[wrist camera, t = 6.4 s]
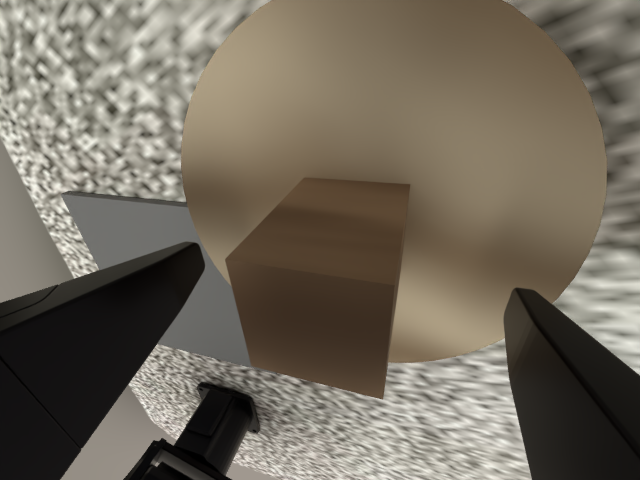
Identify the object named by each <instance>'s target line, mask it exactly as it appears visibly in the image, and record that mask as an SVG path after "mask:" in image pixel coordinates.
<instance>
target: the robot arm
mask: <svg viewBox="0 0 640 480" xmlns="http://www.w3.org/2000/svg"><path fill="white" fill-rule="evenodd" d="M204 270H205V261H204V258H203V254H202V251H201V247H200V245H199V244H198V243H195V242H188V241H185V242H182V243H179V244H176V245H173V246H170V247H167V248H164V249H161V250H158V251H155V252H152V253H149V254H146V255H143V256H140V257H137V258H134V259H131V260H129V261H126V262H123V263H120V264H117V265H114V266H111V267H108V268H105V269H102V270H99V271H96V272H93V273H90V274H87V275H84V276H81V277H78V278H75V279H72V280H69V281H67V282H64V283H61V284H60V285H55V286H51V287H48V288H45V289H42V290H39V291H37V292H33V293H30V294H27V295H24V296H22V297H18V298H15V299H12V300H8V301H5V302H2V303H0V480H60V479H61V478H62V476H63V475H64V474H65V472H66V471H67V470H68V468H69V467H70V465H71V464H72V463H73V461H74V460H75V458H76V457H77V455H78V454H79V453H80V451H81V448H83V447H84V445H85V444H86V443H87V441H88V440H89V438H90V437H91V435H92V434H93V433H94V431H95V430H96V429H97V427H98V426H99V424H100V423H101V421H102V420H103V419H104V417H105V416H106V414H107V413H108V412H109V410H110V409H111V408H112V406H113V405H114V403H115V402H116V401H117V399H118V398H119V396H120V395H121V394H122V392H123V391H124V390H125V388H126V387H127V385H128V384H129V383H130V381H131V380H132V378H133V377H134V376H135V374H136V373H137V371H138V370H139V369H140V367H141V366H142V364H143V363H144V362H145V360H146V359H147V357H148V356H149V355H150V353H151V352H152V350H153V349H154V348H155V346H156V345H157V343H158V342H159V341H160V339H161V338H162V336H163V335H164V334H165V332H166V331H167V329H168V328H169V327H170V325H171V324H172V323H173V321H174V320H175V318H176V317H177V316H178V314H179V313H180V311H181V310H182V308H183V306H184V305H185V303H186V301H187V300H188V298H189V296H190V295H191V293H192V291H193V289H194V288H195V286H196V284H197V282H198V281H199V279H200V277H201V276H202V274H203V272H204ZM503 322H504V332H505V343H506V353H507V363H508V372H509V380H510V385H511V390H512V394H513V398H514V403H515V407H516V411H517V416H518V420H519V425H520V429H521V433H522V438H523V442H524V446H525V451H526V455H527V460H528V464H529V468H530V473H531V477H532V480H640V375H639V374H637V373H636V372H635V371H634V370H632V369H631V368H630V367H629V366H627V365H626V364H625V363H624V362H623V361H621V360H620V359H619V358H618V357H616V356H615V355H614V354H613V353H611V352H610V351H609V350H608V349H607V348H605V347H604V346H603V345H602V344H600V343H599V342H598V341H597V340H595V339H594V338H593V337H592V336H591V335H589V334H588V333H587V332H586V331H584V330H583V329H582V328H581V327H579V326H578V325H577V324H576V323H575V322H573V321H572V320H571V319H570V318H568V317H567V316H566V315H565V314H564V313H562V312H561V311H560V310H559V309H557V308H556V307H555V306H554V305H552V304H551V303H550V302H549V301H548V300H546V299H545V298H544V297H543V296H541V295H540V294H539V293H538V292H536V291H535V290H533V289H526V288H519V287H516V288H514V289H513V290H512V292H511V295H510V298H509V300H508V303H507V306H506V309H505V312H504V317H503ZM197 389H198V392H199V394H200V397H201V399H202V401H201V403H200V404H199V406H198V407H197V409H196V411H195V412H194V414H193V415H192V417H191V418H190V420H189V421H188V423H187V424H186V427H185V429H184V430H183V432H182V433H181V435H180V436H179V438H178V440H177V441H176V443H175V444H174V446H173V445H171V444H169V443H168V442H166V440H165V439H163V438H161V440H160V441H155V440H154V441H153V442H152V443H151V445H150V446H149V447H148V449H147V450H146V452H145V453H144V455H143V456H142V457H141V459H140V460H139V461H138V462H137V464H136V465H135V466H134V467H133V468H132V470H131V471H130V472H129V473H128V475H127V476H126V477H125V478H124V479H123V480H232V479H230V478H228V477H226V473H227V471H228V469H229V467H230V465H231V463H232V461H233V459H234V457H235V455H236V453H237V451H238V449H239V447H240V444H241V442H242V440H243V438H244V436H245V434H246V432H247V431H250V432H253V433H256V434H257V433H258V432H259V430H260V427H259V423H258V420H257V416H256V412H255V409H254V405H253V401H252V399H251V398H250V397H248V396H245V395H241V394H238V393H234V392H231V391H227V390H224V389H220V388H217V387H213V386H210V385H206V384H203V383H200V384H199V385H198V386H197ZM156 462H158V463H160V464H159V465H158V466H157V467H156V466H154V465H155V464H156Z"/></svg>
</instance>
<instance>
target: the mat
mask: <svg viewBox="0 0 640 480" xmlns="http://www.w3.org/2000/svg"><path fill="white" fill-rule="evenodd" d="M61 196H62V198H63V200H64V202H65V204H66V206H67V208H68V210H69V212H70V214H71V216H72V217H73V219H74V221H75V223H76V225H77V227H78V229H79V231H80V233H81V235H82V237H83V239H84V241H85V243H86V245H87V246H88V248H89V250H90V252H91V254H92V256H93V258H94V260H95V262H96V264H97V266H98V268H99V270H102V269H105V268H108V267H111V266H114V265H117V264H120V263H123V262H126V261H129V260H131V259H134V258H137V257H140V256H143V255H146V254H149V253H152V252H155V251H158V250H161V249H164V248H167V247H170V246H173V245H176V244H179V243H182V242H185V241H188V242H195V243H198V244H199V245H200V247H201V251H202V254H203V258H204V261H205V270H204V272H203V274H202V276H201V277H200V279H199V281H198V282H197V284H196V286H195V288H194V289H193V291H192V293H191V295H190V296H189V298H188V300H187V301H186V303H185V305H184V306H183V308H182V310H181V311H180V313H179V314H178V316H177V317H176V318H175V320H174V321H173V323H172V324H171V325H170V327H169V328H168V329H167V331H166V332H165V334H164V335H163V336H162V338H161V339H160V341H159V342H158V343H157V344H160V345H164V346H168V347H172V348H176V349H180V350H183V351H187V352H191V353H195V354H199V355H203V356H207V357H211V358H215V359H219V360H223V361H227V362H231V363H235V364H238V365H242V366H246V367H250V368H254V369H258V370H262V371H266V372H270V373H274V374H277V373H276V372H272V371H268V370H264V369H260V368H257V367H253V366H251V363H250V359H249V355H248V351H247V347H246V342H245V338H244V334H243V330H242V326H241V322H240V318H239V314H238V310H237V306H236V302H235V298H234V294H233V290H232V287H231V285H230V284H229V283H228V282H227V281H226V280H225V278H224V277H223V276H222V274H221V273H220V272H219V270H218V269H217V268H216V266H215V265H214V263H213V262H212V260H211V258H210V257H209V255H208V253H207V252H206V250H205V248H204V246H203V244H202V242H201V240H200V238H199V236H198V234H197V232H196V230H195V227H194V224H193V221H192V218H191V215H190V213H189V210H188V205H187V203H182V202H172V201H162V200H151V199H141V198H131V197H121V196H111V195H101V194H91V193H81V192H71V191H67V192H65V193H62V194H61Z"/></svg>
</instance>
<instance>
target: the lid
mask: <svg viewBox="0 0 640 480" xmlns="http://www.w3.org/2000/svg"><path fill="white" fill-rule="evenodd" d="M181 170H182V178H183V187H184V193H185V197H186V201H187V205H188V210H189V213H190V215H191V218H192V221H193V224H194V227H195V230H196V232H197V234H198V236H199V238H200V240H201V242H202V244H203V246H204V248H205V250H206V252H207V253H208V255H209V257H210V258H211V260H212V262H213V263H214V265H215V266H216V268H217V269H218V270H219V272H220V273H221V274H222V276H223V277H224V278H225V280H226V281H227V282H228V283H229V284H230V285H231V287H232V290H233V294H234V298H235V302H236V306H237V310H238V314H239V318H240V322H241V326H242V330H243V334H244V338H245V342H246V347H247V351H248V355H249V359H250V363H251V366H253V367H257V368H260V369H264V370H268V371H272V372H276V373H280V374H284V375H288V376H292V377H296V378H300V379H304V380H308V381H312V382H316V383H320V384H324V385H328V386H331V387H335V388H339V389H343V390H347V391H351V392H355V393H359V394H363V395H367V396H371V397H375V398H379V399H383V395H384V388H385V381H386V374H387V367H388V362H395V363H413V362H424V361H434V360H440V359H445V358H451V357H456V356H459V355H462V354H466V353H469V352H473V351H476V350H479V349H481V348H484V347H486V346H488V345H491V344H493V343H496V342H498V341H500V340H502V339H504V338H505V332H504V322H503V317H504V312H505V309H506V306H507V303H508V300H509V298H510V295H511V292H512V290H513V289H514V288H516V287H519V288H526V289H533V290H535V291H536V292H538V293H539V294H540V295H541V296H543V297H544V298H545V299H546V300H548V301H549V302H550V303H551V304H552V303H553V302H554V301H555V300H556V299H557V298H558V297H559V296H560V295H561V294H562V292H563V291H564V290H565V289H566V287H567V286H568V285H569V284H570V282H571V281H572V280H573V279H574V278H575V276H576V274H577V273H578V271H579V269H580V268H581V266H582V264H583V262H584V261H585V259H586V257H587V256H588V254H589V252H590V249H591V247H592V244H593V242H594V239H595V237H596V234H597V232H598V229H599V226H600V223H601V218H602V213H603V208H604V203H605V199H606V188H607V158H606V151H605V145H604V138H603V132H602V127H601V124H600V121H599V119H598V116H597V113H596V110H595V107H594V105H593V102H592V99H591V96H590V93H589V92H588V90H587V88H586V87H585V85H584V83H583V82H582V80H581V78H580V76H579V75H578V73H577V71H576V70H575V68H574V66H573V65H572V63H571V61H570V60H569V59H568V58H567V56H566V55H565V54H564V53H563V52H562V51H561V50H560V48H559V47H558V46H557V45H556V44H555V43H554V42H553V40H552V39H551V38H550V37H549V36H548V35H547V34H546V32H545V31H544V30H542V29H541V28H540V27H539V26H537V25H536V24H535V23H533V22H532V21H531V20H530V19H528V18H527V17H526V16H525V15H523V14H522V13H521V12H520V11H518V10H517V9H516V8H514V7H513V6H512V5H510V4H508V3H506V2H504V1H502V0H272V1H270V2H268V3H267V4H265V5H263V6H262V7H260V8H259V9H258V10H256V11H255V12H254V13H253V14H252V15H250V16H249V17H248V18H247V19H246V20H245V21H243V22H242V23H241V24H240V25H239V26H237V27H236V28H235V29H234V30H233V32H232V33H231V34H230V35H229V36H228V37H227V39H226V40H225V41H224V42H223V43H222V44H221V46H220V47H219V48H218V49H217V50H216V52H215V53H214V55H213V57H212V58H211V60H210V61H209V63H208V65H207V66H206V68H205V69H204V71H203V73H202V74H201V76H200V79H199V81H198V83H197V86H196V88H195V90H194V93H193V95H192V97H191V100H190V104H189V108H188V111H187V115H186V119H185V123H184V130H183V137H182V145H181Z"/></svg>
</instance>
